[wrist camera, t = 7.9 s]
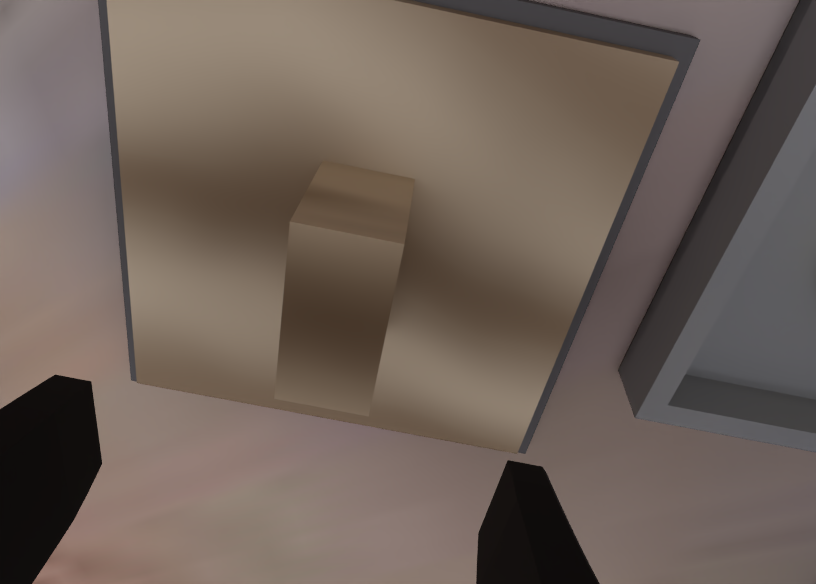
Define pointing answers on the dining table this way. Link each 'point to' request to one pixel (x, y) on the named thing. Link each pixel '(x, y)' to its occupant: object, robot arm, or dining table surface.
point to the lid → (367, 203)
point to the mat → (514, 6)
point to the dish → (745, 276)
